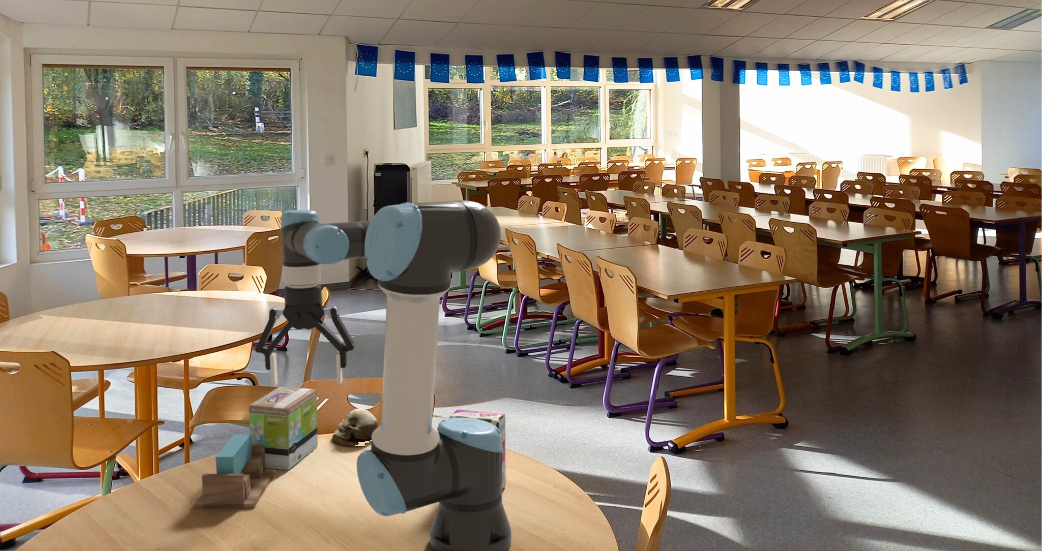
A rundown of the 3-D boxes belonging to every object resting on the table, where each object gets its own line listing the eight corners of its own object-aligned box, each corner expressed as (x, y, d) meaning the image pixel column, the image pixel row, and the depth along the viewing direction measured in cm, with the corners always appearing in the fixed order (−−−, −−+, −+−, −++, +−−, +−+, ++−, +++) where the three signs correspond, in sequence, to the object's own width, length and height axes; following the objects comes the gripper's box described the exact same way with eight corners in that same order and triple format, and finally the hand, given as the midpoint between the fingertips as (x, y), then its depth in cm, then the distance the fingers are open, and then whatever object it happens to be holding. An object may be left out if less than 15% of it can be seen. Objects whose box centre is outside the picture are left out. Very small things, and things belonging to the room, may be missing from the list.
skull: (321, 442, 206) (332, 402, 211) (338, 457, 214) (348, 419, 219) (366, 445, 202) (377, 405, 208) (382, 461, 211) (392, 422, 216)
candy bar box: (506, 486, 184) (506, 413, 181) (498, 495, 179) (499, 421, 176) (457, 479, 187) (457, 407, 184) (449, 488, 182) (448, 415, 180)
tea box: (290, 471, 191) (288, 407, 188) (249, 467, 193) (246, 404, 190) (319, 446, 206) (317, 387, 203) (280, 443, 208) (278, 384, 205)
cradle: (254, 508, 173) (252, 475, 171) (193, 508, 172) (191, 475, 171) (275, 473, 189) (273, 443, 188) (220, 474, 189) (218, 444, 188)
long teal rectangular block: (234, 480, 174) (233, 456, 173) (217, 480, 174) (215, 456, 173) (252, 455, 187) (250, 433, 186) (235, 455, 187) (234, 433, 186)
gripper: (365, 280, 182) (368, 376, 186) (245, 282, 181) (251, 380, 184) (361, 286, 175) (365, 386, 179) (236, 289, 173) (242, 390, 177)
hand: (307, 383), depth 181 cm, fingers open, 13 cm apart
